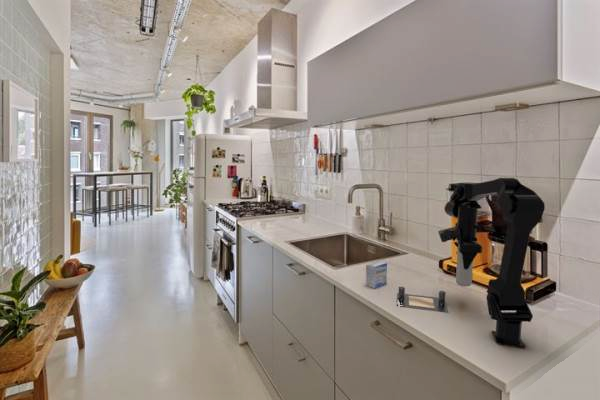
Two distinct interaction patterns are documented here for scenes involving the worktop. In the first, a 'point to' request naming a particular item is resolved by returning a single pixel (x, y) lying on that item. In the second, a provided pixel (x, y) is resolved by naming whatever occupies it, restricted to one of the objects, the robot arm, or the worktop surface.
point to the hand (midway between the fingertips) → (464, 266)
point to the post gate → (422, 301)
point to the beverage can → (463, 272)
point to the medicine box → (376, 274)
